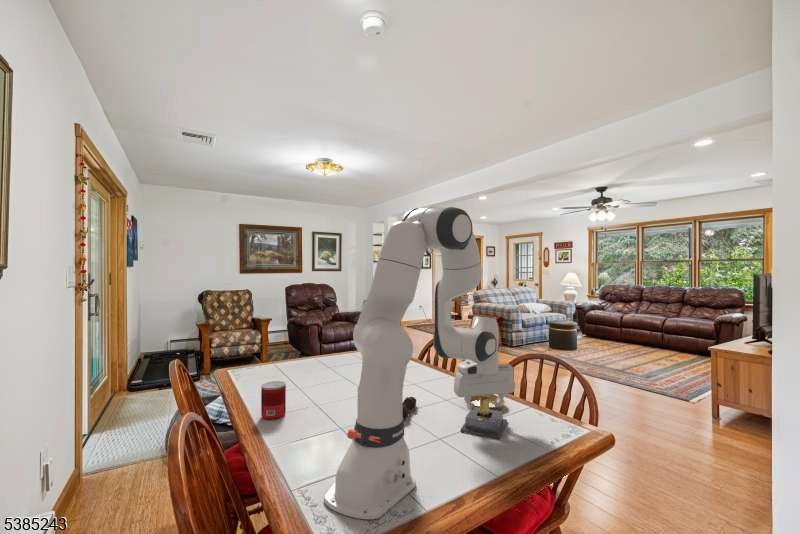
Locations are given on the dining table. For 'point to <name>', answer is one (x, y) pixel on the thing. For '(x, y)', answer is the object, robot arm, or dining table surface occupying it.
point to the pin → (484, 405)
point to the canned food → (273, 400)
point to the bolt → (408, 406)
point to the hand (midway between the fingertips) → (484, 407)
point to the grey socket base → (485, 423)
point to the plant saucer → (491, 400)
